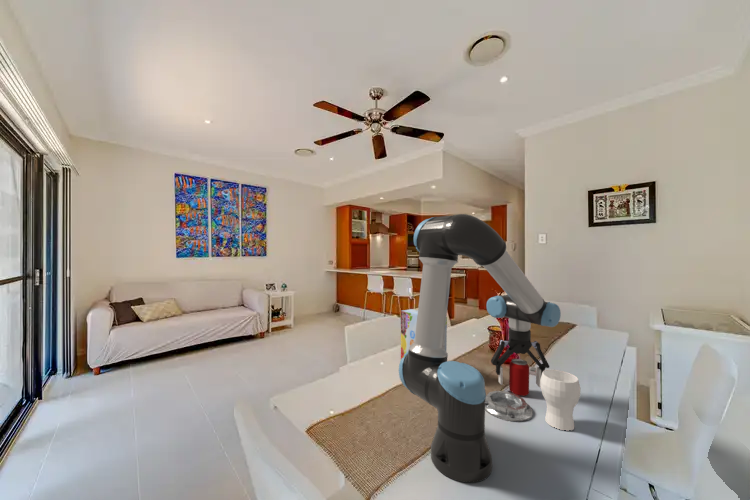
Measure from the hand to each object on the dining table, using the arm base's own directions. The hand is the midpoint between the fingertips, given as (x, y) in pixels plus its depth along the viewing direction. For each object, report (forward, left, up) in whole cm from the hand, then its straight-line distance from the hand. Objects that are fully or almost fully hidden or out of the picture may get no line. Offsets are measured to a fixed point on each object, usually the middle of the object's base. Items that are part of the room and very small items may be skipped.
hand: (519, 384), depth 111 cm
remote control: (+19, -15, -4) cm, 25 cm away
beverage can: (0, 0, -3) cm, 3 cm away
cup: (-19, -6, -3) cm, 20 cm away
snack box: (+15, +36, -3) cm, 39 cm away
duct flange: (-12, +8, -3) cm, 15 cm away
